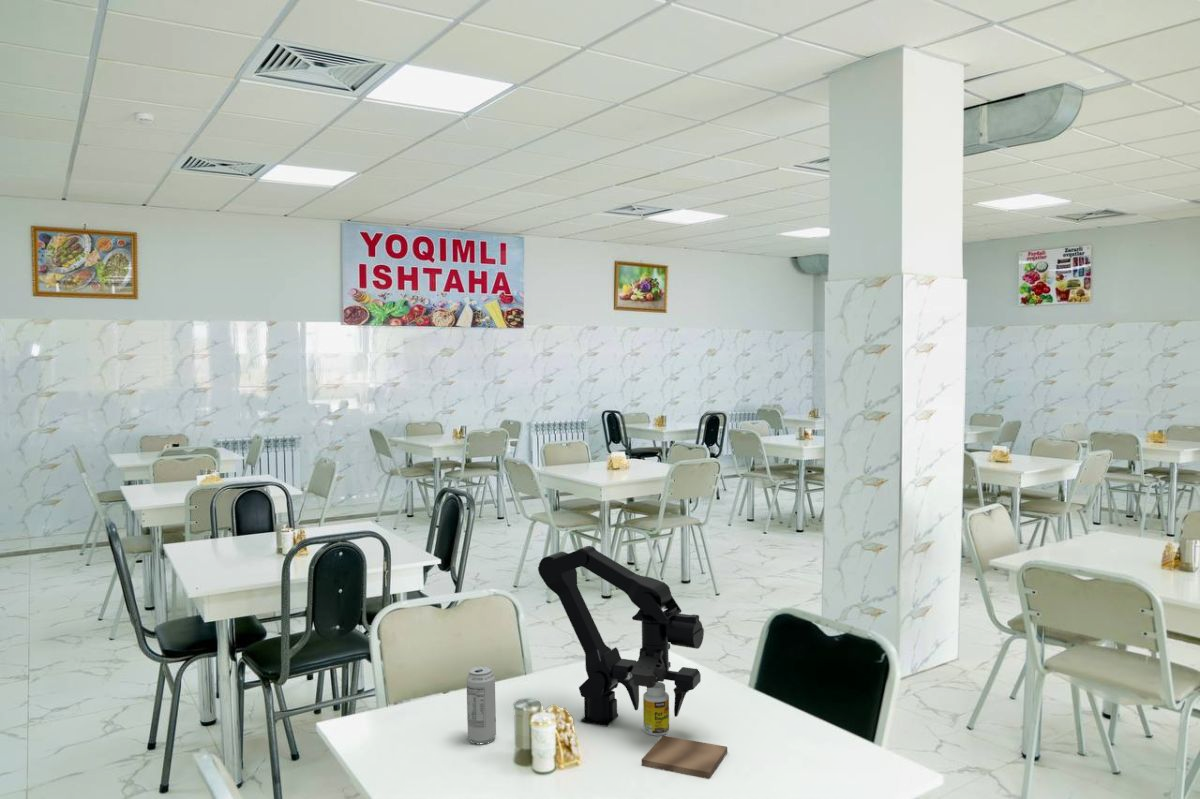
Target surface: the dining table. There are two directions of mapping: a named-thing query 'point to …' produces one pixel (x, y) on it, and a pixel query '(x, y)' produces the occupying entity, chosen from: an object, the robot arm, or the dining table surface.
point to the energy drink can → (481, 705)
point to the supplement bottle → (656, 710)
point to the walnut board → (685, 756)
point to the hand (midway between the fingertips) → (656, 712)
